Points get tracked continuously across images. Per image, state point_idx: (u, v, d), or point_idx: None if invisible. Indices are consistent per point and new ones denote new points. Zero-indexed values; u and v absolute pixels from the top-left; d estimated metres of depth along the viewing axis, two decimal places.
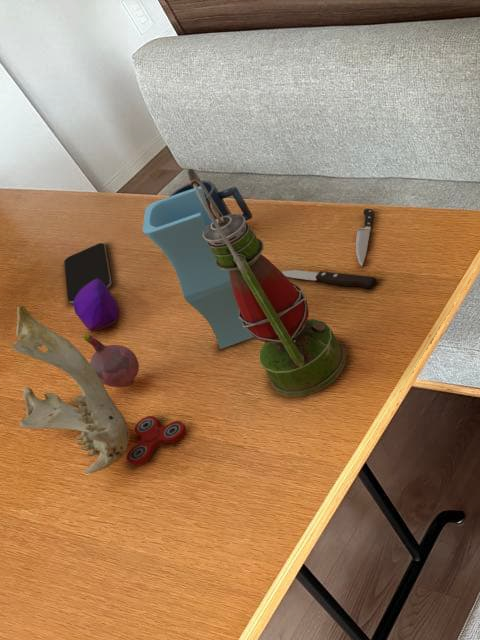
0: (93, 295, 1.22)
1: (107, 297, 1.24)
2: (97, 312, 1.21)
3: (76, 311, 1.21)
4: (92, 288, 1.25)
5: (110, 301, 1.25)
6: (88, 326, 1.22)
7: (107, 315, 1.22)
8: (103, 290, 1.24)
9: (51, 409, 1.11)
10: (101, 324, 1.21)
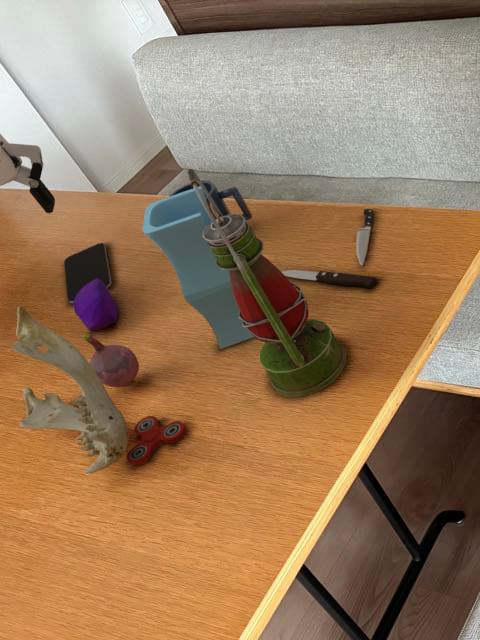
0: (93, 295, 1.22)
1: (107, 297, 1.24)
2: (97, 312, 1.21)
3: (76, 311, 1.21)
4: (92, 288, 1.24)
5: (110, 301, 1.25)
6: (88, 326, 1.22)
7: (107, 315, 1.22)
8: (103, 290, 1.24)
9: (51, 409, 1.11)
10: (101, 324, 1.21)
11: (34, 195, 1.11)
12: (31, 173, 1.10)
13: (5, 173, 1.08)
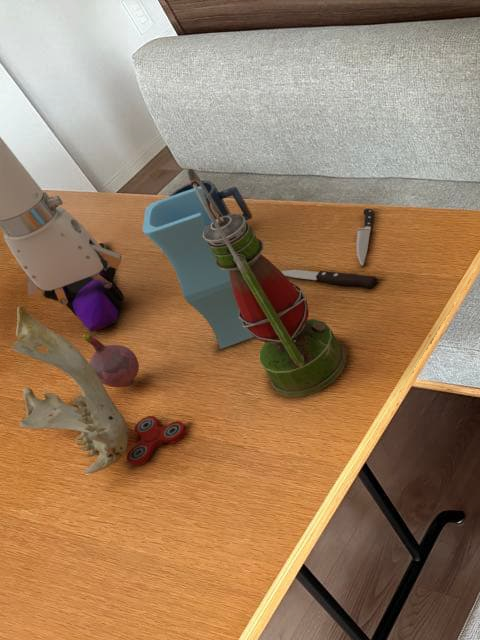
0: (92, 295, 1.22)
1: (106, 297, 1.24)
2: (97, 312, 1.21)
3: (76, 311, 1.21)
4: (91, 288, 1.24)
5: (110, 301, 1.25)
6: (88, 326, 1.22)
7: (106, 315, 1.22)
8: (102, 290, 1.24)
9: (51, 409, 1.11)
10: (101, 324, 1.21)
11: (107, 295, 1.24)
12: (109, 276, 1.23)
13: (92, 267, 1.20)
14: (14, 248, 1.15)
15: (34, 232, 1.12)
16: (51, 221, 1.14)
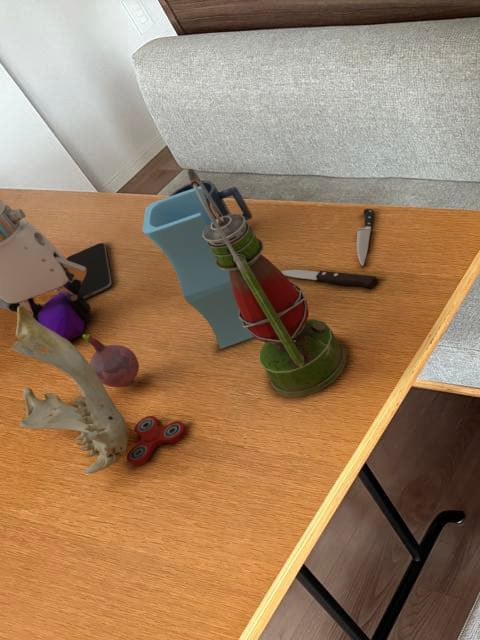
0: (57, 307, 1.22)
1: (72, 309, 1.24)
2: (62, 325, 1.21)
3: None
4: (57, 300, 1.24)
5: (75, 313, 1.24)
6: None
7: (71, 327, 1.22)
8: (68, 302, 1.24)
9: (51, 409, 1.11)
10: (66, 337, 1.21)
11: (73, 307, 1.24)
12: (75, 289, 1.23)
13: (57, 280, 1.20)
14: None
15: None
16: (14, 235, 1.13)
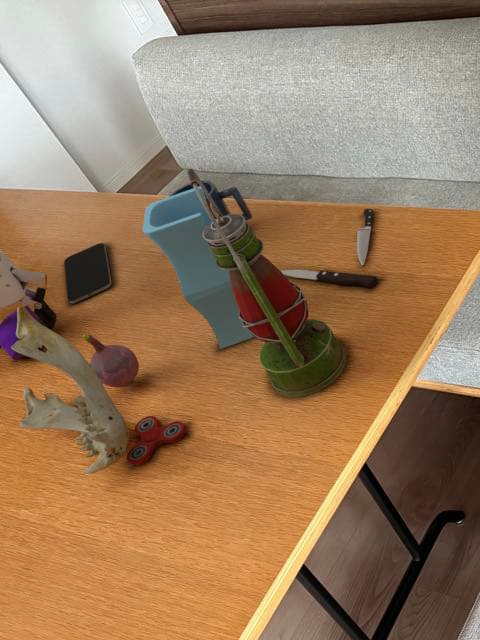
0: (15, 323, 1.22)
1: None
2: (18, 340, 1.20)
3: None
4: (16, 316, 1.24)
5: None
6: (10, 354, 1.21)
7: None
8: None
9: (51, 409, 1.11)
10: None
11: (38, 315, 1.23)
12: (37, 297, 1.22)
13: (14, 295, 1.19)
14: None
15: None
16: None
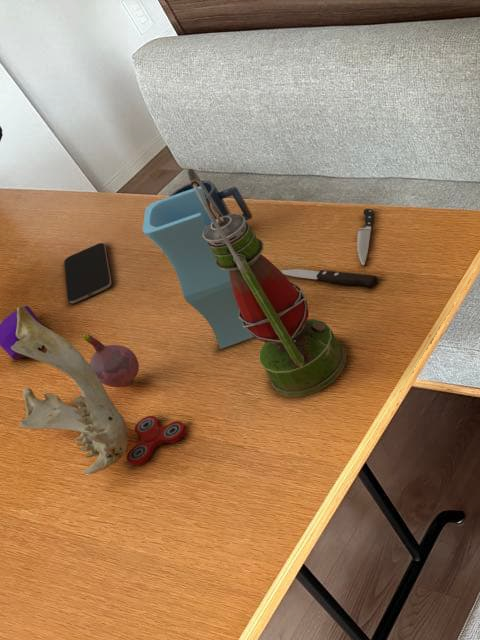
0: (15, 323, 1.22)
1: None
2: (18, 340, 1.20)
3: None
4: (16, 316, 1.24)
5: None
6: (10, 354, 1.21)
7: None
8: None
9: (51, 409, 1.11)
10: None
11: None
12: None
13: None
14: None
15: None
16: None
